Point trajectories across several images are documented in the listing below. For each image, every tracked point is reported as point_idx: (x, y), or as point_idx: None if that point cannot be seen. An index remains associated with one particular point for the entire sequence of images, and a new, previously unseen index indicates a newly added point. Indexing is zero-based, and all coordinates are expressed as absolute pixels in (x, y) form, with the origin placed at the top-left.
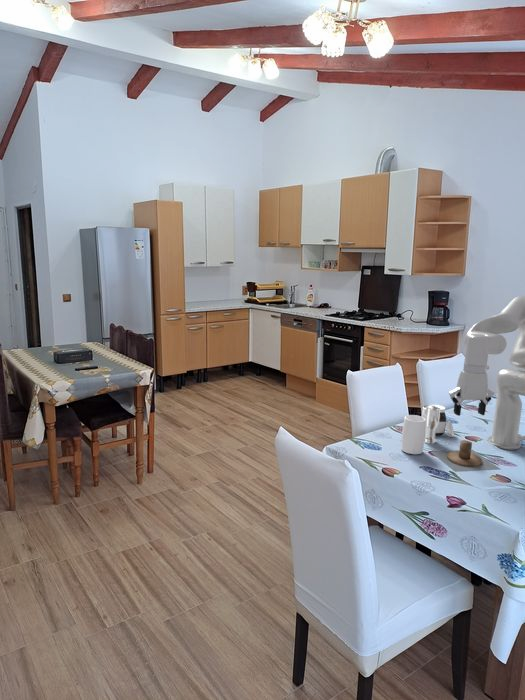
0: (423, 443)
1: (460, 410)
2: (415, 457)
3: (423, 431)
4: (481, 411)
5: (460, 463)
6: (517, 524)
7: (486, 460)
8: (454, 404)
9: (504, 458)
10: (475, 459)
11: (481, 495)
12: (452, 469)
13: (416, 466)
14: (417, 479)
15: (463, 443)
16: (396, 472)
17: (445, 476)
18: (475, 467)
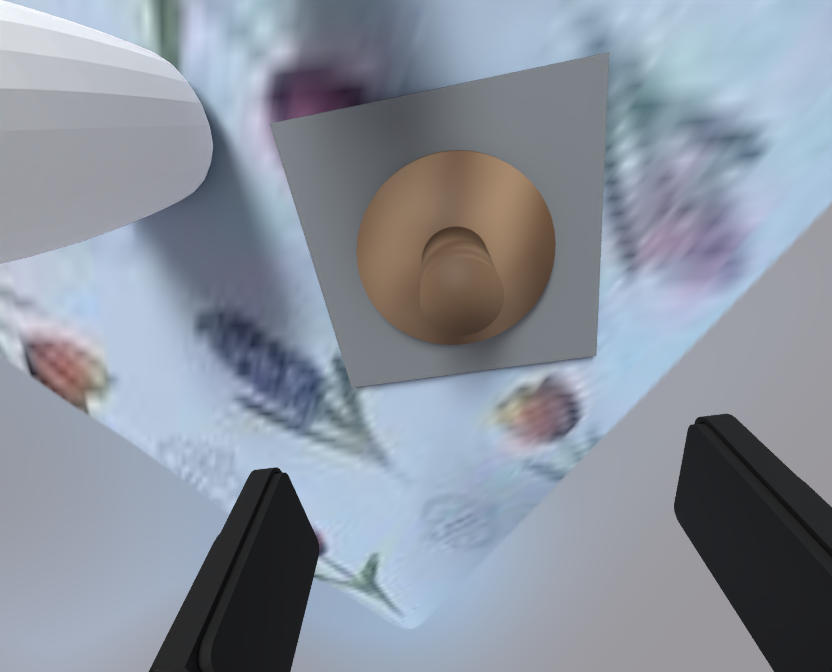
0: (172, 187)
1: (292, 633)
2: None
3: (86, 229)
4: (708, 531)
5: (401, 328)
6: (423, 616)
7: (589, 253)
8: (153, 666)
9: (756, 174)
10: (509, 284)
11: (393, 518)
12: (346, 368)
13: (182, 319)
14: (185, 432)
15: (429, 321)
16: (94, 381)
17: (304, 406)
18: (472, 344)
